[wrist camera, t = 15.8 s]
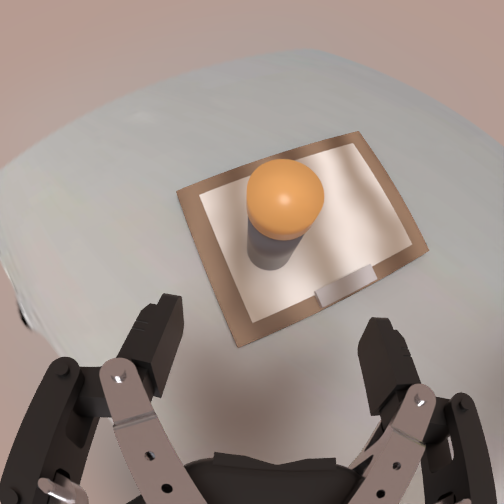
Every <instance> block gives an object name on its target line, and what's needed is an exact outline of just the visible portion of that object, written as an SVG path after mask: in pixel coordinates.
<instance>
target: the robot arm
mask: <svg viewBox="0 0 504 504" xmlns="http://www.w3.org/2000/svg"><path fill="white" fill-rule="evenodd" d="M183 329H184V319H183V306H182V297H181V296H177V295H171V294H165V293H164V294H162V296H161V298H160V300H159V302H158V304H157V305H156V304H151V303H150V304H149V305H147V306H146V307H145V308H144V309H143V310H141V312H140V314H139V316H138V317H137V319H136V321H135V323H134V325H133V327H132V329H131V330H130V332H129V334H128V336H127V338H126V340H125V342H124V344H123V346H122V348H121V350H120V352H119V354H118V355H117V357H116V358H113V359H110V360H108V361H107V362H105V363H104V364H103V366H101V367H79V365H78V363H77V362H76V361H75V360H74V359H72V358H70V357H61V358H58V359H56V360H55V361H53V362H52V363H51V364H50V366H49V368H48V369H47V371H46V373H45V375H44V377H43V380H42V381H41V383H40V385H39V387H38V389H37V391H36V393H35V395H34V397H33V399H32V401H31V403H30V406H29V408H28V410H27V413H26V414H25V417H24V419H23V421H22V423H21V426H20V428H19V431H18V433H17V436H16V438H15V441H14V443H13V446H12V449H11V451H10V454H9V457H8V460H7V462H6V466H5V469H4V472H3V475H2V478H1V482H0V502H1V504H89V500H88V496H87V494H86V492H85V490H84V489H83V488H82V487H81V486H80V481H81V477H82V474H83V470H84V467H85V463H86V460H87V456H88V453H89V450H90V446H91V443H92V440H93V437H94V434H95V430H96V427H97V425H98V422H99V419H100V417H112V419H113V422H114V425H113V429H114V433H115V435H116V438H117V441H118V443H119V446H120V449H121V451H122V453H123V456H124V458H125V461H126V463H127V465H128V467H129V469H130V472H131V474H132V476H133V478H134V480H135V482H136V485H137V487H138V489H139V491H140V493H141V495H140V496H138V497H136V498H135V499H133V500H132V501H130V502H128V503H127V504H399V502H400V500H401V498H402V497H403V495H404V493H405V491H406V489H407V487H408V485H409V483H410V481H411V479H412V477H413V475H414V473H415V471H416V469H417V467H418V465H419V462H420V460H421V467H422V475H423V484H424V494H425V504H497V499H496V491H495V484H494V478H493V473H492V467H491V462H490V458H489V453H488V449H487V445H486V441H485V437H484V433H483V430H482V426H481V423H480V419H479V416H478V413H477V410H476V407H475V404H474V401H473V400H472V398H471V397H470V396H469V395H467V394H465V393H457V394H455V395H454V396H453V397H452V398H451V399H445V398H440V397H435V394H434V392H433V391H432V390H431V389H430V388H429V387H428V386H426V385H424V384H421V382H420V379H419V376H418V373H417V370H416V368H415V365H414V362H413V360H412V357H410V356H411V354H410V352H409V349H408V347H407V344H406V342H405V339H404V338H403V336H402V335H401V334H400V333H399V332H398V331H397V330H393V327H392V325H391V322H390V320H389V319H388V318H376V317H372V318H371V319H370V320H369V322H368V324H367V327H366V329H365V331H364V333H363V335H362V337H361V339H360V341H359V344H358V357H359V361H360V366H361V370H362V374H363V379H364V384H365V388H366V393H367V398H368V403H369V408H370V413H371V416H375V415H380V416H381V420H380V421H379V423H378V424H377V426H376V428H375V430H374V431H373V433H372V435H371V436H370V438H369V440H368V441H367V443H366V445H365V446H364V448H363V449H362V451H361V452H360V454H359V455H358V456H357V458H356V459H355V460H354V461H353V462H352V463H351V464H350V465H349V467H348V468H347V467H345V466H341V465H338V464H336V458H319V459H304V460H300V461H295V462H291V463H286V464H281V465H274V464H270V463H267V462H263V461H260V460H256V459H253V458H250V457H247V456H241V455H232V454H225V453H218V452H215V453H214V458H206V459H200V460H197V461H193V462H191V463H188V464H186V465H184V466H183V464H182V463H181V461H180V459H179V457H178V456H177V454H176V452H175V450H174V448H173V446H172V445H171V443H170V441H169V439H168V437H167V435H166V433H165V431H164V429H163V427H162V425H161V423H160V421H159V419H158V417H157V415H156V413H155V411H154V409H153V407H152V405H151V401H152V398H153V396H155V397H159V398H161V397H162V394H163V391H164V388H165V385H166V382H167V379H168V376H169V373H170V370H171V367H172V364H173V361H174V358H175V355H176V352H177V349H178V346H179V343H180V341H181V338H182V334H183ZM449 436H450V437H451V441H452V446H453V451H454V458H453V460H452V458H451V453H450V448H449V443H448V439H447V438H448V437H449Z"/></svg>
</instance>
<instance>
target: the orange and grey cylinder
mask: <svg viewBox="0 0 504 504" xmlns="http://www.w3.org/2000/svg"><path fill="white" fill-rule="evenodd" d="M323 204H324V189H323V186H322V183H321V181H320V179H319V178H318V176H317V175H316V174H315V173H314V172H313V171H312V170H311V169H310V168H309V167H307V166H306V165H304V164H302V163H300V162H297V161H294V160H289V159H276V160H271V161H268V162H266V163H264V164H262V165H260V166H259V167H258V168H257V169H256V170H255V171H254V172H253V173H252V175H251V176H250V178H249V181H248V184H247V197H246V208H247V215H248V229H247V253H248V256H249V258H250V260H251V262H252V263H253V264H254V265H255V266H257V267H258V268H260V269H263V270H269V271H271V270H277V269H279V268H281V267H283V266H284V265H285V264H286V263H287V262H288V260H289V259H290V257H291V255H292V254H293V252H294V251H295V249H296V247H297V246H298V244H299V243H300V241H301V239H302V238H303V236H304V234H305V233H306V232H307V231H308V230H309V229H310V228H311V226H312V224H313V223H314V221H315V220H316V218H317V216H318V215H319V213H320V211H321V210H322V207H323Z"/></svg>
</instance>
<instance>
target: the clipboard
mask: <svg viewBox="0 0 504 504" xmlns="http://www.w3.org/2000/svg"><path fill="white" fill-rule="evenodd" d="M276 159H289V160H294V161H297V162H300V163H302V164H304V165H306V166H307V167H309V168H310V169H311V170H312V171H313V172H314V173H315V174H316V175H317V176H318V178H319V179H320V181H321V183H322V186H323V189H324V204H323V207H322V210H321V211H320V213H319V215H318V216H317V218H316V220H315V221H314V223H313V224H312V226H311V228H310V229H309V230H308V231H307V232H306V233H305V234H304V236H303V238H302V239H301V241H300V243H299V244H298V246H297V247H296V249H295V251H294V252H293V254H292V255H291V257H290V259H289V260H288V262H287V263H286V264H285V265H284V266H283V267H281V268H279V269H277V270H271V271H269V270H263V269H260V268H258V267H257V266H255V265H254V264H253V263H252V262H251V260H250V258H249V256H248V253H247V229H248V215H247V208H246V197H247V184H248V181H249V178H250V176H251V175H252V173H253V172H254V171H255V170H256V169H257V168H258V167H259V166H260V165H262V164H264V163H266V162H268V161H271V160H276ZM176 193H177V196H178V198H179V201H180V204H181V207H182V209H183V212H184V215H185V218H186V220H187V223H188V226H189V229H190V231H191V234H192V237H193V239H194V242H195V244H196V247H197V250H198V252H199V255H200V257H201V260H202V263H203V265H204V268H205V270H206V273H207V275H208V278H209V280H210V283H211V285H212V288H213V290H214V292H215V295H216V297H217V300H218V302H219V305H220V307H221V309H222V312H223V314H224V317H225V319H226V321H227V324H228V326H229V328H230V331H231V333H232V335H233V337H234V340H235V342H236V344H237V347H238V348H239V347H241V346H243V345H246V344H248V343H251V342H253V341H255V340H258V339H260V338H262V337H265V336H267V335H269V334H272V333H274V332H276V331H278V330H281V329H283V328H285V327H287V326H289V325H292V324H294V323H296V322H298V321H300V320H302V319H304V318H306V317H309V316H311V315H313V314H315V313H317V312H319V311H321V310H323V309H325V308H327V307H329V306H331V305H333V304H335V303H337V302H339V301H341V300H343V299H345V298H347V297H349V296H351V295H352V294H354V293H356V292H358V291H360V290H362V289H364V288H366V287H367V286H369V285H371V284H373V283H375V282H377V281H378V280H380V279H382V278H384V277H386V276H387V275H389V274H391V273H393V272H394V271H396V270H398V269H399V268H401V267H403V266H405V265H406V264H408V263H410V262H411V261H413V260H415V259H416V258H418V257H420V256H421V255H423V254H424V253H426V252H428V251H429V249H428V247H427V245H426V243H425V241H424V239H423V237H422V234H421V232H420V231H419V229H418V227H417V225H416V223H415V221H414V219H413V217H412V215H411V213H410V211H409V210H408V208H407V206H406V204H405V202H404V201H403V199H402V197H401V195H400V194H399V192H398V190H397V189H396V187H395V185H394V184H393V182H392V180H391V179H390V177H389V175H388V174H387V172H386V171H385V169H384V168H383V166H382V164H381V163H380V161H379V160H378V158H377V157H376V155H375V154H374V152H373V151H372V149H371V148H370V147H369V145H368V144H367V142H366V141H365V139H364V138H363V137H362V135H361V134H360V132H359V131H357V132H353V133H349V134H345V135H341V136H337V137H333V138H330V139H326V140H322V141H319V142H315V143H312V144H308V145H305V146H302V147H298V148H295V149H292V150H288V151H285V152H282V153H279V154H276V155H273V156H270V157H267V158H264V159H261V160H258V161H255V162H252V163H249V164H246V165H243V166H240V167H238V168H235V169H232V170H229V171H227V172H224V173H221V174H218V175H216V176H213V177H211V178H208V179H205V180H203V181H200V182H198V183H195V184H193V185H190V186H188V187H185V188H183V189H180V190H178V191H176Z"/></svg>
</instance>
